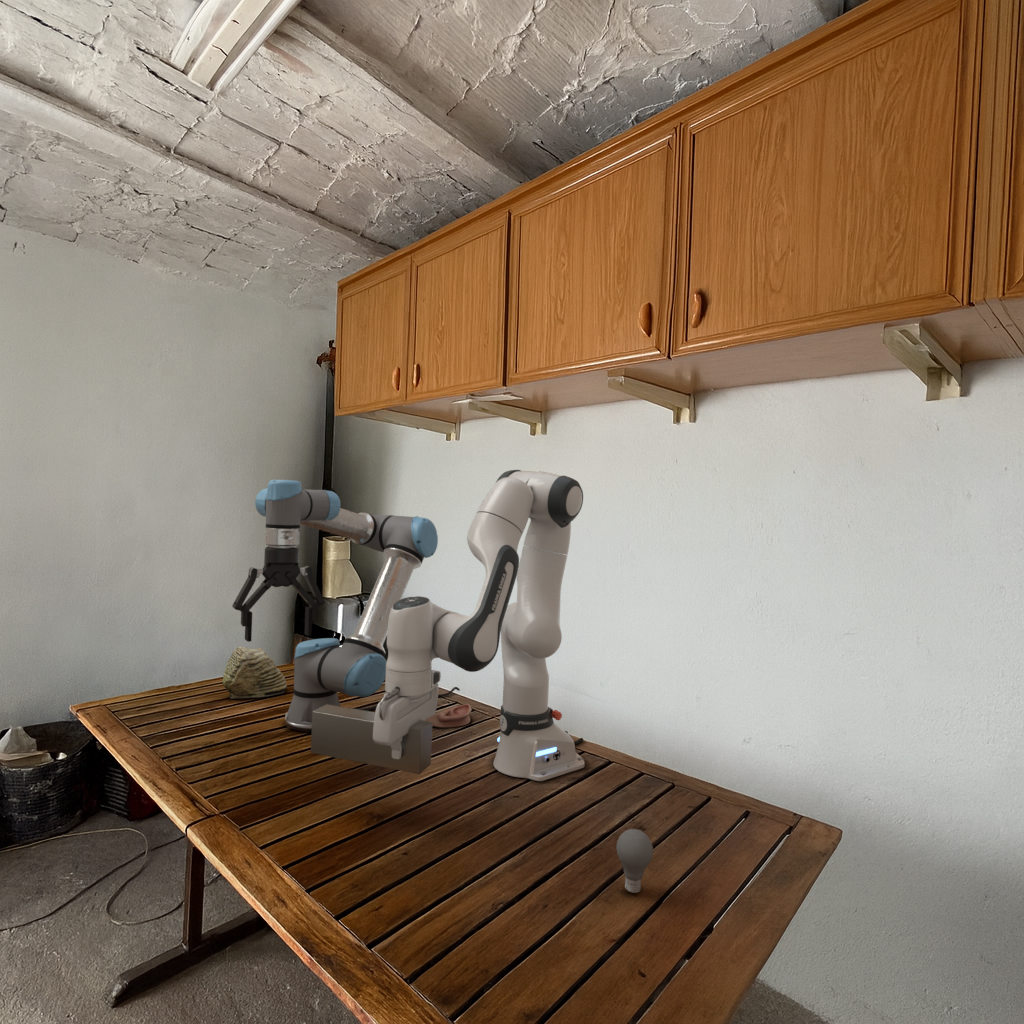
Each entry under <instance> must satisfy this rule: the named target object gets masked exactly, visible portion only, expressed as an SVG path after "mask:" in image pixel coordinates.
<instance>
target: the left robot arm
mask: <svg viewBox="0 0 1024 1024" xmlns="http://www.w3.org/2000/svg"><path fill="white" fill-rule="evenodd" d="M254 505H255V509H256V511H257V512H258V514H259V515H260V516H262V517H265V532H264V533H265V534H264V536H265V537H264V544H265V545H266V547H264V555H263V556H264V557H263V559H264V560H263V566H262V568H256V567H252V566H251V567H249V569H248V574H247V578H246V580H245V581H244V584H243V585H242V587H241V589H240V591H239V592H238V595H237V596H236V598H235V600H234V602H233V603H232V609H234V610H235V611H238V612H239V611H240V625H241V627H244V640H245V641H246V642H248V643H250V642H252V636H253V635H252V632H253V612H252V611H251V609H252V608H253V607H254V606H255V605H256V603H257V602H258V601H260V599H261V598H262V597H263V596H264V594H265V593H266V592H267V591H268V590H269V589H271V587H274V588H280V587H283V588H284V587H285V588H288V587H290V586H291V587H293V588H294V590H295V591H296V592H297V593H298V594H299V595H300V597H301V598H302V599H303V601H304V602H306V604H307V605H308V606H305V610H304V611H305V612H304V635H306V636H307V637H312V632H313V631H312V628H313V622H315V621H316V620H317V609H318V607H319V606H323V605H324V604H325V602H326V601H325V599H324V597H323V595H322V593H321V590H320V588H319V586H318V585H317V582H316V580H315V578H314V574H313V568H312V567H311V566H310V565H305V566H303V567H300V566H299V563H300V562H299V561H300V549H299V547H297V546H299V545H300V536H301V535H300V533H301V532H300V531H301V525H302V526H306V527H309V528H313V529H316V530H319V531H322V532H327V533H330V534H333V535H337V536H341V537H344V538H347V539H350V541H351V542H352V543H354V544H356V545H360V546H363V547H365V548H368V549H371V550H374V551H377V552H381V553H383V555H384V557H385V561H384V562H383V564H382V567H381V569H380V572H379V573H378V576H377V579H376V581H375V583H374V586H373V588H372V590H371V592H370V594H369V598H368V600H367V602H366V604H365V606H364V608H363V611H362V614H361V615H360V618H359V621H358V622H357V625H356V627H355V628H354V629H355V630H354V632H353V634H351V635H349V636H346V637H345V638H344V641H343V643H342V645H340V644H341V643H340V640H339V639H338V638H335V637H326V638H325V637H324V638H323V637H322V638H313V639H308V640H304V641H302V642H299V643H298V644H297V645H296V647H295V652H294V653H295V654H294V657H293V659H294V660H293V662H294V663H293V665H294V666H293V695H292V696H293V697H292V699H291V702H290V704H289V708H288V711H286V712H285V716H284V719H285V726H286V728H287V729H289V730H291V731H294V732H295V731H296V732H301V733H312V711H314V710H316V709H318V708H320V707H322V706H324V705H326V704H328V705H334V706H340V707H342V706H341V702H340V699H339V695H338V693H340V694H344V695H348V696H350V697H357V698H367V697H370V696H372V695H373V694H375V693H376V692H377V691H379V690H380V688H381V687H382V686H383V684H384V683H385V677H386V662H387V659H386V658H385V655H386V651H385V648H384V644H385V642H386V640H387V629H388V620H389V615H390V611H391V608H392V606H393V605H394V603H396V602H397V601H399V600H401V599H403V598H404V594H405V592H406V589H407V587H408V584H409V582H410V580H411V577H412V574H413V573H414V570H416V569H418V568H420V567H421V566H422V564H423V561H424V559H428V558H431V557H432V556H434V555H435V553H436V551H437V548H438V542H439V538H438V537H439V535H438V531H437V528H436V526H435V524H434V522H433V521H432V520H430V519H429V518H427V517H421V516H417V515H416V516H405V515H392V514H372V513H368V512H359V513H357V512H355V511H351V510H349V509H345V508H342V507H341V499H340V496H338V494H337V493H336V492H334V491H332V490H326V489H304V488H302V482H301V481H299V480H290V479H271V480H269V481H268V482H267V488H263V489H261V490H260V491H259V492H258V493H257V494H256V497H255V501H254ZM300 574H301V575H302V576H303V577H304V580H305V581H306V583H307V586H308V587H309V589H310V592H311V594H312V595H313V598H314V599H313V598H312V597H311V595H310V594H309V593H308V592H307V591H306V589H305V588H304V587H303V586H302V584H301V583H300V582H299V580H297V578H298V577H299V575H300ZM261 575H262V576H263V578H264V579H263V580H262V582H260V584H259V586H258V587H257V588H256V589H255V590H254V592H253V593H252V594H251V595H250V596H249V597H248V595H249V593H250V592H251V590H252V589H253V586H254V584H255V583H256V580H257V579H258V578H259V577H260V576H261ZM247 597H248V599H247ZM246 599H247V600H246ZM455 690H457V691H458V692H460V691H461V689H460V688H459V687H457V686H454V687H453V688H452V689H450V690H449V691H448V692H446V693H438V698H441V697H447V696H449V695H451V694H452V693H453V692H454V691H455ZM377 705H378V704H376V705H373V706H369V707H364V708H362V707H361V708H357V709H358V710H364V711H371V710H374V709H376V707H377Z"/></svg>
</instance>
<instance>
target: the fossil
mask: <svg viewBox="0 0 1024 1024" xmlns="http://www.w3.org/2000/svg"><path fill="white" fill-rule="evenodd" d="M222 676H223V677H222V685H223V687H224V688H225V690H226V691H228V693H229V698H230V699H250V698H264V697H271V696H275V695H281V694H284V693H285V691H286V689H287V687H288V686H287V680H286V678H285V676H284V674H283V673H282V672H281V669H279V668H278V667H277V665H276V663H275V662H274V660H273V659H272V658H271V657H270V656H269V655H268V654H267V653H266V652H265V650H264V649H263V648H260V647H258V648H251V647H247V646H246V647H245V646H238V647H237V648H236V649H235V650H233V651H232V653H231V656H230V657H229V659H228V660H227V663H226V666H225V668H224V671H223V675H222Z"/></svg>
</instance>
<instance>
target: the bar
mask: <svg viewBox="0 0 1024 1024" xmlns="http://www.w3.org/2000/svg"><path fill="white" fill-rule="evenodd" d="M340 706H341V705H340ZM340 706H334V705H328V704H326V705H324V706H322V707H320V708H318V709H316V710H314V711H312V732H311V737H310V738H311V740H310V741H311V742H310V753H311V754H315V755H320V756H325V757H330V758H335V759H339V760H346V761H350V762H356V763H361V764H366V765H370V766H376V767H381V768H386V769H390V770H396V771H401V772H406V773H411V774H414V775H415V774H416V775H420V774H421V773H423V772H424V771H425V770H426V769H427V768H428V767H429V766H431V764H432V748H433V747H432V744H433V743H432V742H433V726H432V723H433V722H429V721H423V720H420V721H419V722H417V723H416V724H414V725H413V726H411V727H410V728H409V732H408V733H407V734H406V735H404V736H403V737H402V741H401V747H402V748H404V752H403V753H404V755H403V756H402V757H401V758H400V759H393V758H392V749H391V746H387V745H381V744H376V743H375V742H374V740H373V726H374V718H375V711H371V710H366V711H364V710H358V709H359V708H350V707H347V706H341V707H340Z"/></svg>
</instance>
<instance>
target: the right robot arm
mask: <svg viewBox="0 0 1024 1024" xmlns="http://www.w3.org/2000/svg"><path fill="white" fill-rule="evenodd" d="M583 502H584V492H583V489H582V486H581V484H580V482H579V481H577V480H576V479H574V478H572V477H570V476H567V475H559V474H557V473H556V474H555V473H552V472H548V471H542V470H541V471H532V470H521V469H511V470H507V471H504V472H503V473H502V474H500V475H499V477H498V478H497V479H496V481H495V483H494V484H493V486H492V487H491V488H490V490H489V491H488V493H487V494H486V495H485V497H484V499H483V500H482V502H481V504H480V505H479V507H478V509H477V510H476V513H475V515H474V517H473V519H472V521H471V523H470V525H469V528H468V532H467V536H466V541H467V545H468V549H469V551H470V553H471V554H472V555H473V556H474V558H476V559H477V560H478V561H479V562H480V563H481V564H482V565H483V566H484V569H485V577H484V581H483V585H482V588H481V590H480V593H479V596H478V600H477V602H476V604H475V605H476V606H475V608H474V610H473V612H472V613H471V614H469V615H465V614H461V613H458V612H455V611H453V610H452V611H451V610H449V609H446V608H443V607H441V606H439V605H437V604H435V603H433V602H432V601H431V600H430V599H429V598H428V597H426V596H418V595H417V596H408V597H403V598H402V599H401V600H399V601H397V602H396V603H394V605H393V606H392V608H391V611H390V615H389V620H388V629H387V636H386V648H387V653H388V655H387V658H386V677H385V680H384V691H385V693H384V694H383V696H382V698H381V700H380V701H379V702H378V703H377V704H376V705H377V707H376V708H375V711H374V712H375V718H374V726H373V740H374V742H375V743H376V744H381V745H387V746H391V749H392V758H393V759H400V758H401V757H402V756H403V755H404V753H403V752H404V748H402V747H401V741H402V737H403V736H404V735H406V734H407V733H408V732H409V728H410V727H411V726H413V725H414V724H416V723H417V722H419V721H420V720H423V721H425V720H427V719H428V718H429V717H431V716H432V715H434V714H435V713H436V711H437V708H438V701H439V697H438V694H439V690H440V689H439V683H440V682H441V677H442V674H441V671H440V670H436V669H432V665H433V663H432V662H433V660H434V659H438V658H439V659H440V660H442V661H445V662H447V663H451V664H453V665H455V666H457V667H458V668H460V669H462V670H463V671H466V672H468V673H469V672H470V673H475V672H480V671H481V670H483V669H485V668H486V667H487V666H489V665H490V664H491V662H492V661H493V660H494V659H495V657H496V655H497V654H498V650H499V647H500V646H499V645H501V647H500V648H501V658H502V660H501V661H502V668H503V681H502V683H503V687H502V688H503V689H502V705H501V706H500V712H499V713H500V714H499V731H500V732H499V733H500V734H499V737H497V749H496V752H495V756H494V760H493V762H492V765H493V767H494V769H495V770H496V771H498V772H500V773H501V774H504V775H507V776H508V777H509V776H510V777H515V778H521V779H528V780H531V781H535V782H545V781H547V780H550V779H553V778H557V777H561V776H562V775H566V774H569V773H572V772H576V771H578V770H581V769H584V768H585V765H586V764H585V759H584V758H583V757H582V756H581V755H580V754H578V753H577V752H576V746H577V745H579V744H581V743H582V742H583V741H584V738H583V737H580V738H578V739H577V740H574V739H573V737H572V736H571V734H570V733H569V732H568V731H567V730H564V729H563V728H562V727H560V725H558V724H557V723H555V721H560V720H561V719H562V717H563V714H562V712H561V711H559V710H558V709H552V708H551V707H550V706H549V690H550V673H549V671H548V666H547V660H546V659H547V658H549V657H551V656H553V655H554V654H555V653H557V651H558V650H559V648H560V646H561V644H562V638H563V637H562V636H563V634H562V630H561V624H560V623H561V595H562V585H563V579H564V574H565V570H566V564H567V559H568V555H569V551H570V543H571V535H572V533H571V531H572V522H573V521H574V520H575V519H576V518H577V516H579V514H580V512H581V510H582V507H583V504H584V503H583ZM529 520H530V521H529ZM528 521H529V524H528ZM527 524H528V527H527V530H526V526H527ZM525 530H526V533H525V536H524V541H523V544H522V545H523V546H522V549H521V554H520V557H519V553H518V548H519V543H520V541H521V538H522V536H523V534H524V532H525ZM515 583H516V586H517V587H516V601H515V602H511V603H510V600H511V597H512V593H513V589H514V586H515ZM554 719H555V721H554Z"/></svg>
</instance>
